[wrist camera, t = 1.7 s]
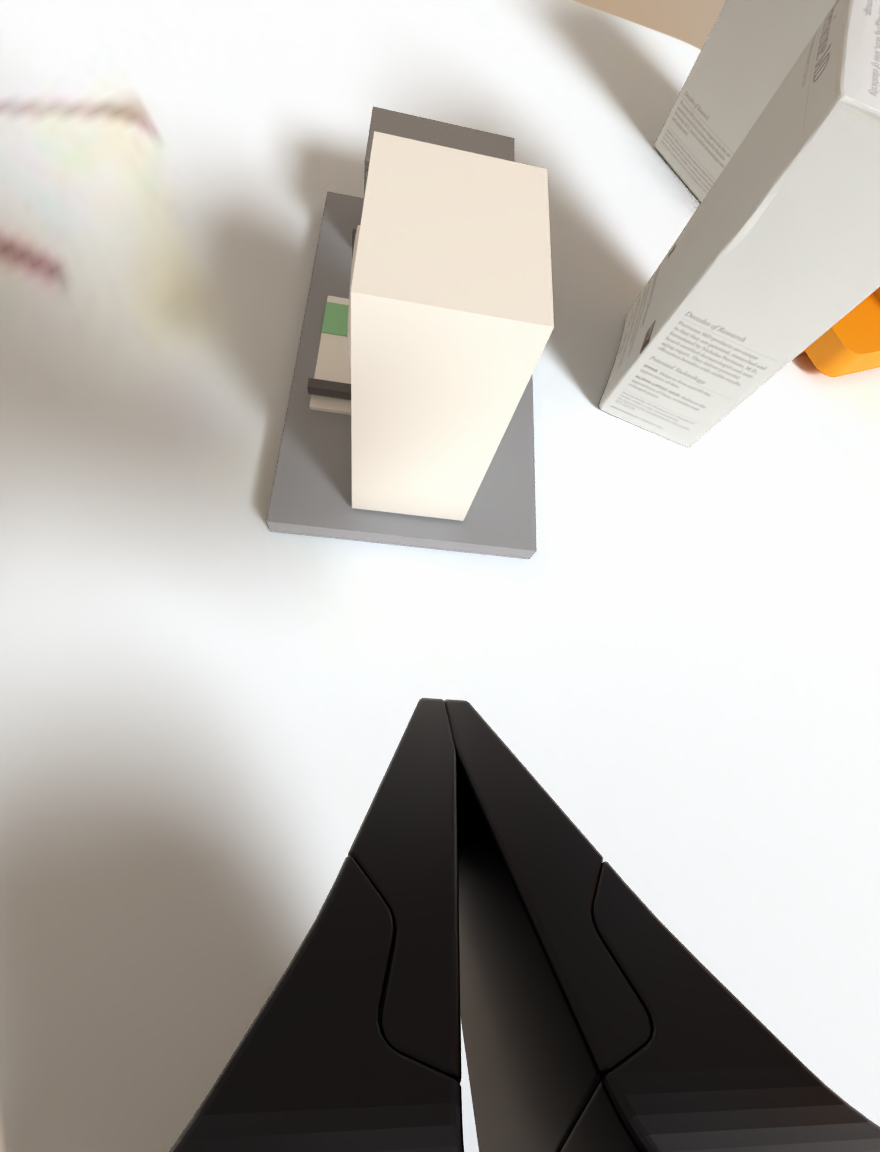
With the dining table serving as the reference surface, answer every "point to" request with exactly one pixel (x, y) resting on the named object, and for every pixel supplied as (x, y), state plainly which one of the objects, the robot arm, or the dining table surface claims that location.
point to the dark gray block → (437, 135)
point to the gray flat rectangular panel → (324, 446)
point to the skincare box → (765, 244)
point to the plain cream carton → (441, 321)
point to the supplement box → (734, 83)
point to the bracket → (850, 341)
